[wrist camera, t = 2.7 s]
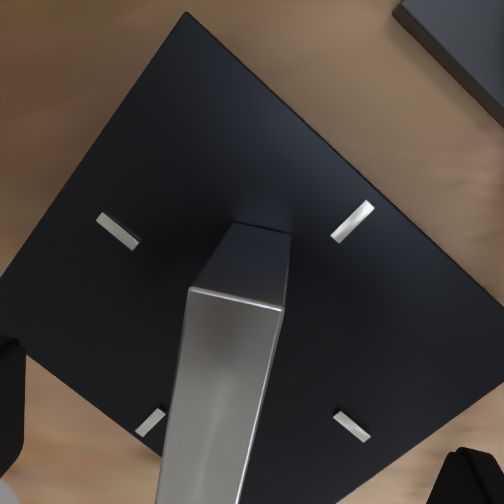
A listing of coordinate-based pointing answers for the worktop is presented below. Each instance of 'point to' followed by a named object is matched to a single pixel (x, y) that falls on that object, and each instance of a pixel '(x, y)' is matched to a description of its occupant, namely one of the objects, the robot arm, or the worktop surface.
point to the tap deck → (298, 290)
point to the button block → (463, 43)
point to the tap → (224, 366)
